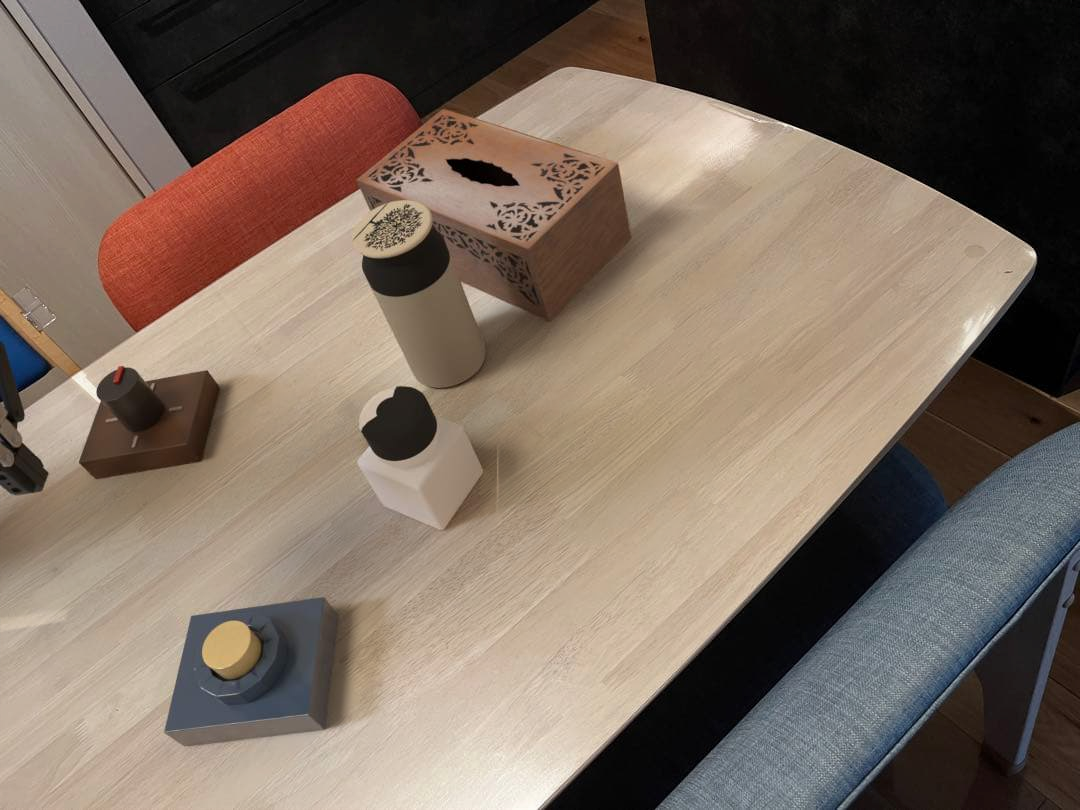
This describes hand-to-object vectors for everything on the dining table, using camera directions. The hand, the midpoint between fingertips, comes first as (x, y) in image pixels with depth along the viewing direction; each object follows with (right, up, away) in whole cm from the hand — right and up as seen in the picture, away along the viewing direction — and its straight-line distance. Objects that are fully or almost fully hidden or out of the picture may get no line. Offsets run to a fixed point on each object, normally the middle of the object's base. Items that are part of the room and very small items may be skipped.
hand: (34, 485), depth 67 cm
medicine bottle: (+28, -2, +17) cm, 33 cm away
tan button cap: (+13, -14, +5) cm, 20 cm away
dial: (-4, +5, +27) cm, 28 cm away
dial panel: (-3, +3, +30) cm, 30 cm away
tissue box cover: (+33, +24, +37) cm, 56 cm away
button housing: (+15, -17, +8) cm, 24 cm away
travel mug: (+28, +10, +27) cm, 40 cm away
